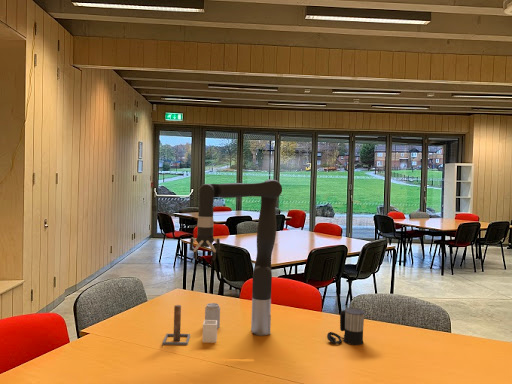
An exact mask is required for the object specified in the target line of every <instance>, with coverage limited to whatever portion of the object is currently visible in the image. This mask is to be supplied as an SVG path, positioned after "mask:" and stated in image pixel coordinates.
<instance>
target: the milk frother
mask: <svg viewBox="0 0 512 384" xmlns="http://www.w3.org/2000/svg"><path fill="white" fill-rule="evenodd" d="M339 313H340V314H339V330H340V331H341V332H344V335H343V336H341V335H339V334H337V333H336V332H332V331H330V332H329V331H328V333H327V335H326V338H327V340H328V341H329V342H330V343H332V344H335V345H337V344H341V343H342V341H343V342H344V343H346V344H348V345H353V346H360V345H362V344H364V323H365V322H364V321H365V313H366V312H365V310H363V309H360V308H358V307H357V308H356V307H348V308H345V309H342V310H341V311H340V312H339ZM337 339H338V340H337ZM342 339H343V340H342Z"/></svg>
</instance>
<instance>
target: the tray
mask: <svg viewBox="0 0 512 384" xmlns="http://www.w3.org/2000/svg"><path fill="white" fill-rule="evenodd" d="M168 337H174V333H166V334H165V336H164V338H163V340H162V347H164V345H165V346H188V345H189V340H190V338H191V333H180V338H181V337H182V338H186V340H185V341H177V342H175V341H167V339H168Z"/></svg>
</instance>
